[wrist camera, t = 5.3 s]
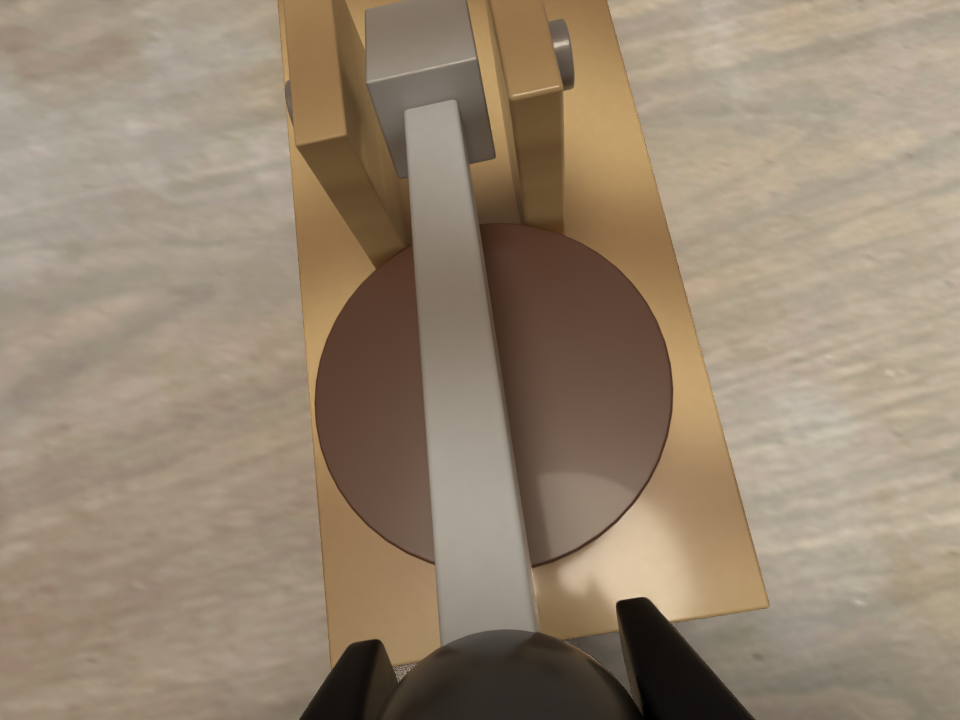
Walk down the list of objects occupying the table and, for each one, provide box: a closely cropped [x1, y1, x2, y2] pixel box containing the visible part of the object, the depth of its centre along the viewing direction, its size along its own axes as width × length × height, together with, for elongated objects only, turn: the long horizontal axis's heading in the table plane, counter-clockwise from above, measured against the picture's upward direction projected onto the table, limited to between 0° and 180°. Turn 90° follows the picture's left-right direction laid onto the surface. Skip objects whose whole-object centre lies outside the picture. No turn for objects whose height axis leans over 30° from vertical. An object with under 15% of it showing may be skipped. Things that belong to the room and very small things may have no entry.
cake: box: [314, 223, 673, 569], centre depth 18 cm, size 8×8×5 cm
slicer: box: [278, 0, 770, 670], centre depth 18 cm, size 24×12×11 cm, turn 9°
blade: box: [365, 0, 645, 720], centre depth 11 cm, size 16×3×3 cm, turn 9°
